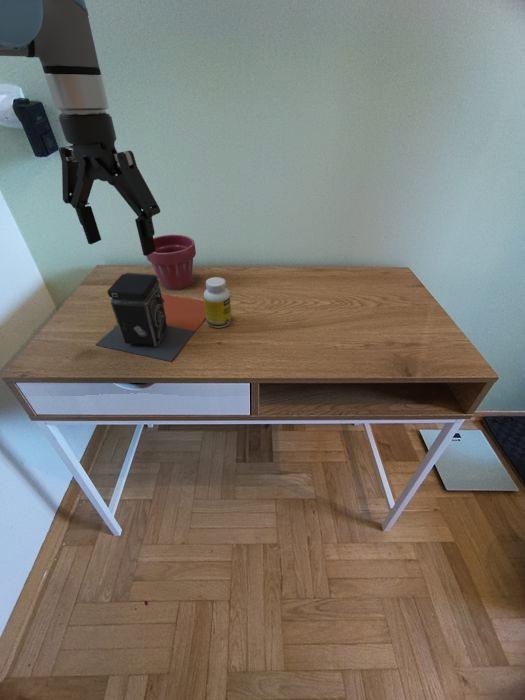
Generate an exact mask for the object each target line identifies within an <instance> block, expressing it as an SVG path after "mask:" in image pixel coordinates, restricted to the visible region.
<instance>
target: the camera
mask: <svg viewBox="0 0 525 700" xmlns="http://www.w3.org/2000/svg"><path fill="white" fill-rule="evenodd" d="M160 283H161V282H160V280H159V278H158V276H157V274H156V273H139V272H125V273H122V274H121V275H119V277H118V278H117V279H116V280H115V282H113V284H112V285H111V286H110V287H109V288H108V289H107V291H106V292H107V295H108V297H109V298H111V299H110V301H109V302H110V305H111V309H112V312H113V314H114V318H115V319H116V320H115V321H116V323H117V325H118V327H119V330H120V333H121V336H122V339H123V342H124V343H125V344H130V345H132V344H140V345H153V346H154V347H155V346H158V345H159V343H160V341H161V339H162V338H163V336H164V334H165V332H166V330H167V329H168V328H167V324H166V314H165V310H164V305H163V303H164V299H163V298H162V295H161V294H162V290H161V288H160Z"/></svg>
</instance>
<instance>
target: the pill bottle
mask: <svg viewBox="0 0 525 700" xmlns="http://www.w3.org/2000/svg"><path fill="white" fill-rule="evenodd" d="M205 286H206V287H205V288H206V289H205V290H204V293H203V301H204V304H205V312H206V319H205V320H206V323H207V324H208V326H209V327H212V328H215V329H216V328H217V329H220V328H221V329H222V328H225V327H227V326H228V325H230V324H231V322H232V311H231V308H232V307H231V293H230V291H229V289H228V288H226V286H227V285H226V279H224V278H223V277H218V276H214V277H209V278H208V279H206V281H205Z"/></svg>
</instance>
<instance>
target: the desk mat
mask: <svg viewBox="0 0 525 700" xmlns="http://www.w3.org/2000/svg"><path fill="white" fill-rule="evenodd" d="M161 295H162V298H163V299H164V303H163V305H164V310H165V314H166V324H167V328H168V329H167V330H166V332H165V334H164V336H163V338H162V339H161V341H160V343H159V345H158V346H155V347H154V346H153V345H140V344H132V345H130V344H125V343H124V342H123V339H122V336H121V333H120V330H119V327H118V324H117V325H116V326H115V327H113V329H111V330H110V331H109V332H108V333H107V334H106V335H104V336H103V337H102V338H101V339H100V340H99V341H98V342H96V344H95V346H96V347H101V348H106V349H109V350H114V351H118V352H124V353H128V354H131V355H132V354H133V355H136V356H143V357H147V358H151V359H156V360H160V361H165V362H169V363H172V362H173V361H174V360H175V359H176V358H177V356H178V355H179V353H180V352H181V351H182V349H183V348H184V347H185V346H186V345H187V343H188V342H189V340H190V339H191V338H192V337H193V336H194V335H195V333H196V331H197V330H198V329H199V328H200V327H201V326H202V324H203V323H204V322H205V320H206V312H205V304H204V300H199V299H194V298H193V299H192V298H187V297H183V296H182V297H181V296H175V295H169V294H165V293H161Z"/></svg>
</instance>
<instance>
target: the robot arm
mask: <svg viewBox="0 0 525 700" xmlns="http://www.w3.org/2000/svg"><path fill="white" fill-rule="evenodd" d="M0 57H26V58H29V59H30V58H38V59H39V61H40V64H41V67H42V71H43V73H44V77H45V80H46V83H47V87H48V90H49V94H50V96H51V100H52V103H53V106H54V108H55V109H56V110H58V111H60V114H58V120H59V124H60V127H61V130H62V133H63V136H64V139H65V141H66V143H68V144H70V145H66V146H65V145H64V146H60V147H58V153H59V156H60V160H61V183H62V184H61V186H62V188H61V189H62V201H63V202H64V203H65V204H66V205H68V204H69V205H71V207H72V208H73V209H75V213H76V215H77V219H78V221H79V223H80V225H81V226H82V229H83V232H84V235H85V239H86V241H87V244H89V245H93V244H95V243H98V242H100V241H102V237H101V233H100V231H99V228H98V224H97V221H96V218H95V215H94V211H93V208H92V206H91V205H90V202H89V198H90V194H91V191H92V188H93V185H94V181H97V180H98V181H101V182H107V183H108V184H109V185H110V186H112V187H113V188H115V189H116V191H117V192H118V193H119V195H120V196H121V197H122V198H123V200H124V201H125V202H126V203H127V206H129V207H130V209H131V210H132V211H133V212H134V214H135V215H136V216H137V218H135V219H134V220H135V221H134V222H135V225H136V229H137V235H138V239H139V243H140V247H141V251H142V255H143V256H145V257H147V256H148V255H149V254H151V253H153V252H155V251H156V249H155V244H154V239H153V238H154V236H155V233H156V232H155V228H154V227H155V226H154V222H153V217H155V216H156V215H158V214H160V213H161V208H160V205H159V204H158V202H157V201H156V199H155V197H154V195H153V193H152V191H151V190H150V188H149V186H148V184H147V182H146V181H145V179H144V176H143V174H142V173H141V171H140V169H139V167H138V166H137V161H136V158H135V155H134V152H133V151H132V150H125V151H121V152H120V151H119V152H118V151H117V149H116V146H115V142H116V141H117V135H116V130H115V126H114V122H113V117H112V115H110V113H107V110H109V108H110V106H109V101H108V97H107V94H106V88H105V84H104V80H103V76H102V72H101V69H100V68H101V67H100V64H99V60H98V54H97V50H96V45H95V40H94V37H93V31H92V28H91V22H90V18H89V10H88V8H87V5H86V0H0Z"/></svg>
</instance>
